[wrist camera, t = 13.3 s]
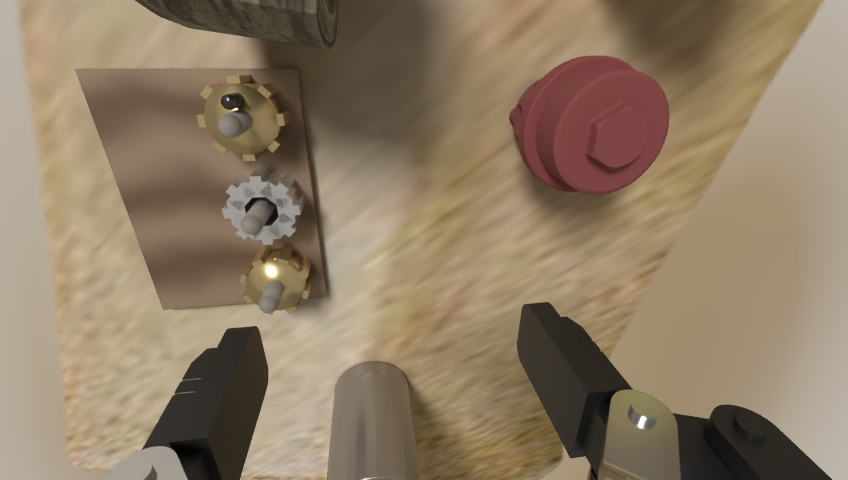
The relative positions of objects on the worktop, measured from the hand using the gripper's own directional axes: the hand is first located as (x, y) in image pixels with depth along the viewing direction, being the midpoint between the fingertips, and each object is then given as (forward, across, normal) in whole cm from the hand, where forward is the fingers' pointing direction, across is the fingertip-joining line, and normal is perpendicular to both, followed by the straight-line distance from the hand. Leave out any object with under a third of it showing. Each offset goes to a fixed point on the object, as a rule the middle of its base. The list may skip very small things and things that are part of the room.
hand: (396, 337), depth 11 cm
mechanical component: (+26, -16, -3) cm, 31 cm away
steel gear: (+25, +10, +4) cm, 27 cm away
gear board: (+26, +14, +4) cm, 30 cm away
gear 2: (+25, +10, +12) cm, 29 cm away
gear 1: (+25, +10, -4) cm, 27 cm away
